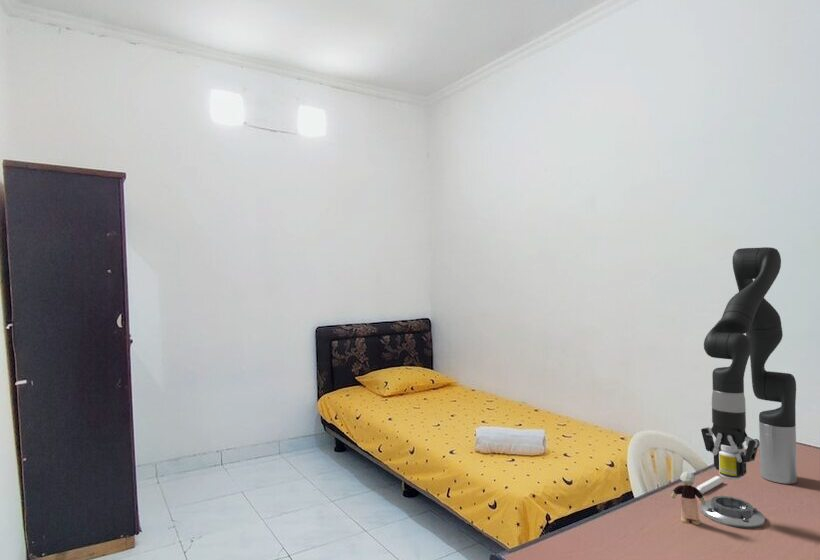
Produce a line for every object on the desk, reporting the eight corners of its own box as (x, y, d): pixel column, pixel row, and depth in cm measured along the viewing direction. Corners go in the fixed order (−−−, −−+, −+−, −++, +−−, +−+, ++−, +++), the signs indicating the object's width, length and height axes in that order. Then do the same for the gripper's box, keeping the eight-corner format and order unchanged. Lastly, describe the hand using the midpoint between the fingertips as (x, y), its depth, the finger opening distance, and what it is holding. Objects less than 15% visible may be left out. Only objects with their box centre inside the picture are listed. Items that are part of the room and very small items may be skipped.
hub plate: (710, 499, 140) (710, 488, 140) (770, 515, 129) (770, 503, 129) (693, 515, 130) (693, 503, 130) (757, 534, 120) (756, 521, 120)
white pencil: (694, 499, 142) (717, 484, 152) (701, 497, 141) (724, 483, 151) (689, 489, 144) (712, 476, 153) (696, 488, 142) (719, 474, 152)
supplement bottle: (741, 481, 127) (741, 448, 127) (720, 478, 129) (719, 446, 129) (739, 475, 131) (738, 443, 131) (718, 472, 133) (717, 441, 134)
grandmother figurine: (703, 519, 128) (702, 470, 128) (707, 526, 124) (706, 476, 124) (670, 515, 130) (669, 467, 130) (673, 522, 126) (672, 472, 127)
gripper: (766, 412, 126) (767, 479, 126) (709, 401, 139) (710, 461, 138) (749, 415, 122) (751, 484, 122) (693, 404, 135) (694, 466, 135)
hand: (729, 472), depth 130 cm, fingers closed on supplement bottle, 4 cm apart
